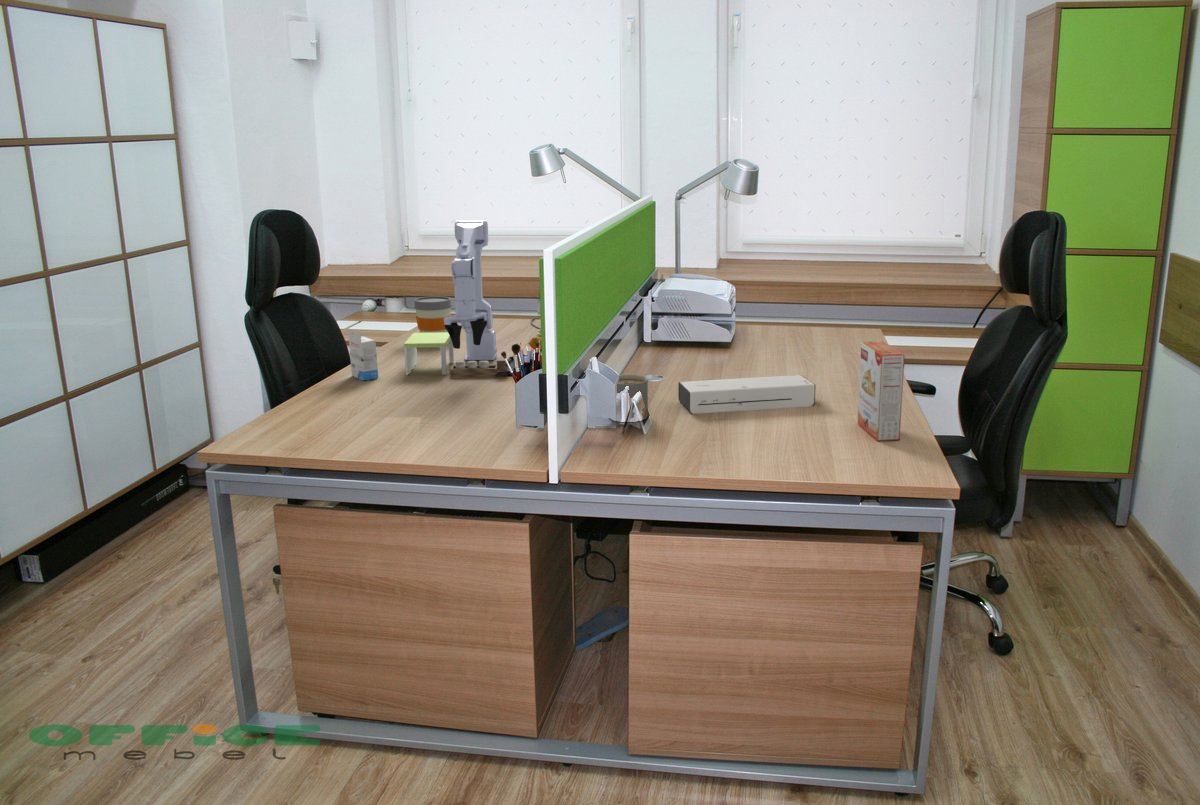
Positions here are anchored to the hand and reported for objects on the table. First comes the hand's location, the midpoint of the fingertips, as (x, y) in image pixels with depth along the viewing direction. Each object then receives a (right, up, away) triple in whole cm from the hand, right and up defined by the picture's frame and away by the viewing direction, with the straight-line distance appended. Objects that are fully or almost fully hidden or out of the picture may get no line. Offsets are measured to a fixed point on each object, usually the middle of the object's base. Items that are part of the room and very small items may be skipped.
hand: (467, 346), depth 297 cm
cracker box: (+105, -24, -54) cm, 121 cm away
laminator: (+77, -17, -28) cm, 84 cm away
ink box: (-31, -9, +6) cm, 33 cm away
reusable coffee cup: (-18, +4, +53) cm, 56 cm away
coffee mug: (+44, -21, -39) cm, 63 cm away
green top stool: (-13, -6, +15) cm, 21 cm away
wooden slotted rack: (+3, -8, +7) cm, 11 cm away
